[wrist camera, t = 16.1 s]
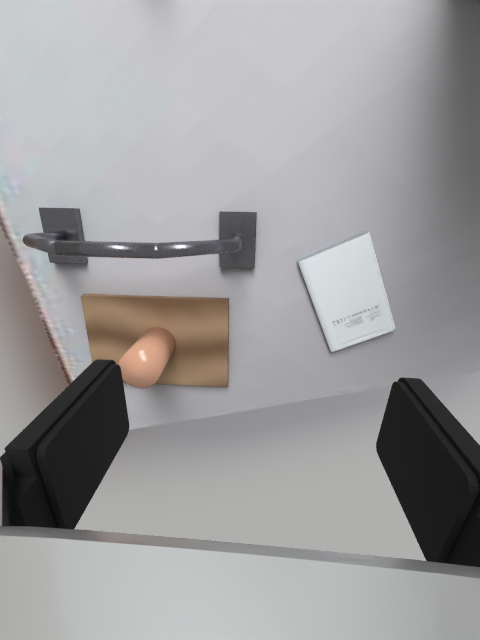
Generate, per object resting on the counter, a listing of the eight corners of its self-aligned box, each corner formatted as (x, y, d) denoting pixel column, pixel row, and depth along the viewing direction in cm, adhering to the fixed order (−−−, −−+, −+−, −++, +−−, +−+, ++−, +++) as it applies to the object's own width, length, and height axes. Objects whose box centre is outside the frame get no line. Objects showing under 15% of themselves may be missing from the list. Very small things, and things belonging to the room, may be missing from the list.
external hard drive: (364, 231, 33) (391, 325, 37) (296, 259, 35) (328, 347, 39) (370, 232, 32) (397, 330, 36) (298, 262, 33) (331, 353, 37)
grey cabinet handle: (44, 207, 33) (-57, 206, 22) (256, 212, 33) (258, 213, 22) (55, 261, 35) (-33, 283, 25) (254, 266, 35) (255, 292, 24)
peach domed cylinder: (140, 326, 37) (116, 349, 30) (175, 328, 37) (159, 352, 30) (142, 357, 38) (119, 386, 32) (176, 359, 38) (160, 389, 32)
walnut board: (85, 293, 37) (80, 296, 36) (228, 298, 36) (228, 300, 35) (99, 377, 41) (95, 381, 40) (228, 382, 40) (227, 386, 39)
